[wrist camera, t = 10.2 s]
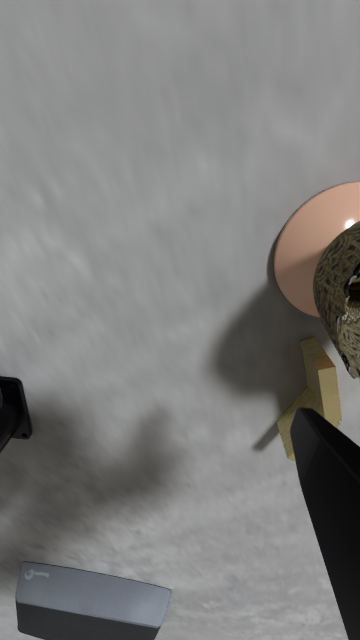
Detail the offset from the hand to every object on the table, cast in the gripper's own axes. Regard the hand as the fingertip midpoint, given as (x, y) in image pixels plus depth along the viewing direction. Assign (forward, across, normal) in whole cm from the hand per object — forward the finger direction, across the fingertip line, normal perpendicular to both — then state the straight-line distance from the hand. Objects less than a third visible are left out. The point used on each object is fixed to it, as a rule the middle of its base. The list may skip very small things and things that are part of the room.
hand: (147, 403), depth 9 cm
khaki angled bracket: (+11, -10, +7) cm, 17 cm away
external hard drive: (+13, +7, +46) cm, 48 cm away
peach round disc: (+11, -10, -3) cm, 15 cm away
